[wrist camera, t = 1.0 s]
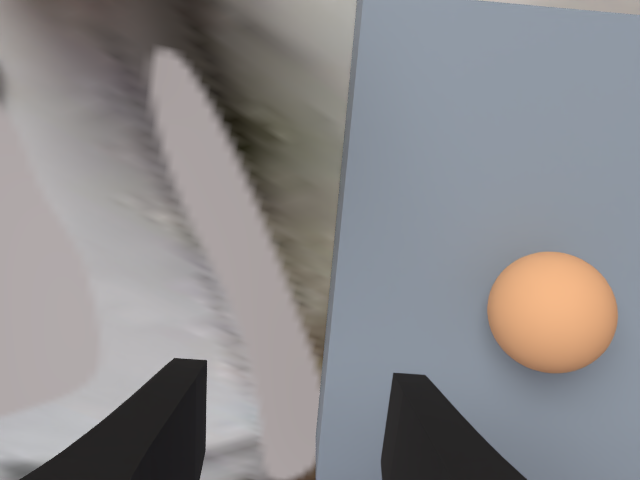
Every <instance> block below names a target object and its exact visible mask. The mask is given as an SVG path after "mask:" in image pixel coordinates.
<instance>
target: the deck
mask: <svg viewBox="0 0 640 480" xmlns="http://www.w3.org/2000/svg"><path fill="white" fill-rule="evenodd" d="M538 252H561V253H566V254H569V255H573V256H575V257H578V258H580V259H582V260H584V261H585V262H587V263H589V264H590V265H592V266H593V267H594V268H595V269H597V270H598V271H599V272H600V273H601V274H602V276H603V277H604V278H605V279H606V281H607V282H608V284H609V286H610V287H611V289H612V291H613V293H614V296H615V299H616V303H617V309H618V323H617V328H616V331H615V334H614V337H613V339H612V341H611V343H610V345H609V347H608V348H607V349H606V351H605V352H604V353H603V354H602V355H601V356H600V357H599V358H598V359H597V360H595V361H594V362H592V363H591V364H589V365H587V366H586V367H583V368H581V369H579V370H576V371H572V372H567V373H544V372H540V371H536V370H532V369H530V368H527V367H525V366H523V365H521V364H520V363H518V362H516V361H515V360H514V359H512V358H511V357H510V356H509V355H507V354H506V353H505V352H504V351H503V349H502V348H501V347H500V345H499V344H498V343H497V341H496V340H495V338H494V336H493V334H492V332H491V329H490V326H489V321H488V315H487V304H488V297H489V294H490V290H491V288H492V286H493V284H494V282H495V280H496V279H497V277H498V276H499V275H500V273H501V272H502V271H503V270H504V269H505V268H506V267H507V266H509V265H510V264H511V263H513V262H514V261H516V260H518V259H520V258H522V257H524V256H527V255H530V254H533V253H538ZM393 373H406V374H421V375H426V376H427V377H428V378H429V379H430V380H431V381H432V382H433V384H434V385H435V386H436V387H437V388H438V389H439V390H440V391H441V393H442V394H443V395H444V396H445V397H446V398H447V399H448V400H449V401H450V403H451V404H452V405H453V406H454V407H455V408H456V409H457V410H458V411H459V412H460V414H461V415H462V416H463V417H464V418H465V419H466V420H467V421H468V422H469V423H470V424H471V425H472V426H473V427H474V428H475V430H476V431H477V432H478V433H479V434H480V435H481V436H482V437H483V438H484V439H485V440H486V441H487V442H488V443H489V444H490V445H491V446H492V447H493V448H494V449H495V450H496V451H497V452H498V453H499V454H500V455H501V456H502V457H503V458H504V459H506V460H507V461H508V462H509V463H510V464H511V465H512V466H513V467H514V468H515V469H516V470H518V471H519V472H520V473H521V474H522V475H523V476H524V477H525V478H526V479H527V480H640V15H632V14H621V13H610V12H599V11H588V10H577V9H566V8H554V7H543V6H532V5H521V4H510V3H499V2H488V1H476V0H357V8H356V19H355V29H354V40H353V50H352V61H351V71H350V82H349V92H348V103H347V113H346V124H345V134H344V145H343V155H342V166H341V176H340V187H339V197H338V208H337V219H336V229H335V240H334V250H333V261H332V271H331V282H330V292H329V303H328V313H327V324H326V334H325V345H324V355H323V366H322V376H321V387H320V397H319V408H318V418H317V429H316V480H382V473H381V454H382V447H383V440H384V434H385V427H386V420H387V413H388V406H389V399H390V392H391V385H392V378H393Z"/></svg>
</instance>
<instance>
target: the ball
mask: <svg viewBox="0 0 640 480" xmlns="http://www.w3.org/2000/svg"><path fill="white" fill-rule="evenodd" d="M487 315H488V321H489V326H490V329H491V332H492V334H493V336H494V338H495V340H496V341H497V343H498V344H499V345H500V347H501V348H502V349H503V351H504V352H505V353H506V354H507V355H509V356H510V357H511V358H512V359H514V360H515V361H516V362H518V363H520V364H521V365H523V366H525V367H527V368H530V369H532V370H536V371H540V372H544V373H567V372H572V371H576V370H579V369H581V368H583V367H586V366H587V365H589V364H591V363H592V362H594V361H595V360H597V359H598V358H599V357H600V356H601V355H602V354H603V353H604V352H605V351H606V349H607V348H608V347H609V345H610V343H611V341H612V339H613V337H614V334H615V331H616V328H617V323H618V309H617V303H616V299H615V296H614V293H613V291H612V289H611V287H610V286H609V284H608V282H607V281H606V279H605V278H604V277H603V276H602V274H601V273H600V272H599V271H598V270H597V269H595V268H594V267H593V266H592V265H590V264H589V263H587V262H585V261H584V260H582V259H580V258H578V257H575V256H573V255H569V254H566V253H561V252H538V253H533V254H530V255H527V256H524V257H522V258H520V259H518V260H516V261H514V262H513V263H511V264H510V265H509V266H507V267H506V268H505V269H504V270H503V271H502V272H501V273H500V275H499V276H498V277H497V279H496V280H495V282H494V284H493V286H492V288H491V290H490V294H489V297H488V304H487Z"/></svg>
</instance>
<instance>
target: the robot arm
mask: <svg viewBox="0 0 640 480" xmlns="http://www.w3.org/2000/svg"><path fill="white" fill-rule="evenodd" d="M206 389H207V360H194V359H179V358H174V359H173V360H172V361H170V362H169V363H168V364H167V365H166V366H164V367H163V368H162V369H161V370H160V371H159V372H158V373H157V374H155V375H154V376H153V377H152V378H151V379H150V380H149V381H148V382H147V383H146V384H144V385H143V386H142V387H141V388H140V389H139V390H138V391H137V392H135V393H134V394H133V395H132V396H131V397H130V398H129V399H127V400H126V401H125V402H124V403H123V404H122V405H120V406H119V407H118V408H117V409H116V410H114V411H113V412H112V413H111V414H110V415H109V416H107V417H106V418H105V419H104V420H103V421H101V422H100V423H99V424H98V425H96V426H95V427H94V428H92V429H91V430H90V431H89V432H87V433H86V434H85V435H83V436H82V437H81V438H79V439H78V440H77V441H75V442H74V443H73V444H71V445H70V446H69V447H67V448H66V449H65V450H64V451H62V452H61V453H59V454H58V455H56V456H55V457H54V458H52V459H51V460H49V461H48V462H46V463H45V464H43V465H42V466H40V467H39V468H37V469H36V470H34V471H32V472H31V473H29V474H28V475H26V476H24V477H23V478H21V479H20V480H200V475H201V470H202V465H203V460H204V455H205V447H206ZM381 473H382V480H527V479H526V478H525V477H524V476H523V475H522V474H521V473H520V472H519V471H518V470H516V469H515V468H514V467H513V466H512V465H511V464H510V463H509V462H508V461H507V460H506V459H504V458H503V457H502V456H501V455H500V454H499V453H498V452H497V451H496V450H495V449H494V448H493V447H492V446H491V445H490V444H489V443H488V442H487V441H486V440H485V439H484V438H483V437H482V436H481V435H480V434H479V433H478V432H477V431H476V430H475V428H474V427H473V426H472V425H471V424H470V423H469V422H468V421H467V420H466V419H465V418H464V417H463V416H462V415H461V414H460V412H459V411H458V410H457V409H456V408H455V407H454V406H453V405H452V404H451V403H450V401H449V400H448V399H447V398H446V397H445V396H444V395H443V394H442V393H441V391H440V390H439V389H438V388H437V387H436V386H435V385H434V384H433V382H432V381H431V380H430V379H429V378H428V377H427V376H426V375H421V374H406V373H393V378H392V385H391V392H390V399H389V406H388V413H387V420H386V427H385V434H384V440H383V447H382V454H381Z"/></svg>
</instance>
